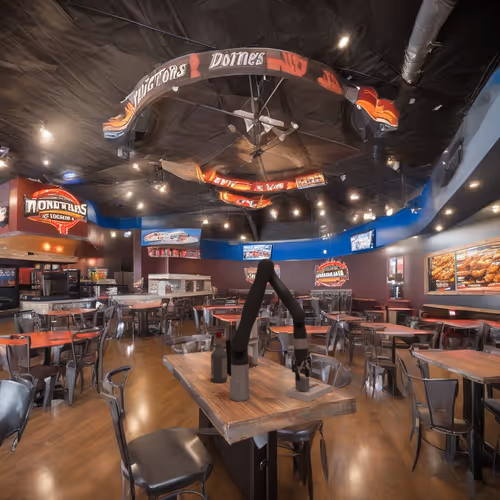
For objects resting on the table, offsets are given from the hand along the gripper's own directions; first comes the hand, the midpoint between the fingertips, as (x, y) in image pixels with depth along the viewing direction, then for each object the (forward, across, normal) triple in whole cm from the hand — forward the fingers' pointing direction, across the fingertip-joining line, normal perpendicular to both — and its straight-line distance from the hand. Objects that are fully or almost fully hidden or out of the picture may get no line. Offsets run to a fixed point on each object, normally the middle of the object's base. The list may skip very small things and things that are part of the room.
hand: (302, 378), depth 161 cm
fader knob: (+5, 0, 0) cm, 5 cm away
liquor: (+8, +10, -56) cm, 58 cm away
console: (+9, -6, 0) cm, 11 cm away
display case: (+9, -27, -68) cm, 74 cm away
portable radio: (+8, -7, -63) cm, 64 cm away
